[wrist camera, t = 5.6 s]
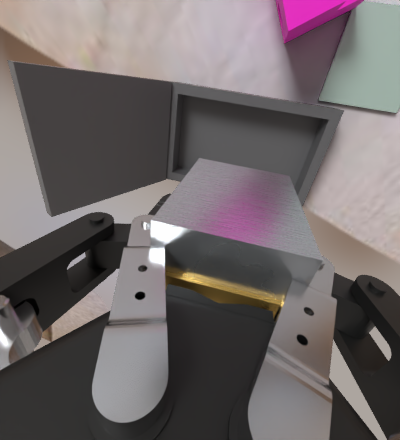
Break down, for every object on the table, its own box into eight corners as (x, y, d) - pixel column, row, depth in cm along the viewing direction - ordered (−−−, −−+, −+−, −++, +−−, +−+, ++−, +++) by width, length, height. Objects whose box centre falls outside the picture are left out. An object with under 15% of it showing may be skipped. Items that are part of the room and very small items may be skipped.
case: (334, 108, 25) (434, 133, 11) (297, 197, 30) (334, 284, 17) (127, 73, 27) (2, 59, 13) (129, 162, 33) (44, 215, 19)
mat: (449, 13, 20) (452, 11, 19) (394, 112, 24) (396, 113, 24) (354, 1, 20) (356, 0, 20) (317, 100, 25) (318, 100, 24)
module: (289, 175, 12) (325, 265, 6) (263, 247, 15) (269, 360, 9) (199, 157, 13) (148, 223, 7) (189, 230, 15) (146, 325, 9)
